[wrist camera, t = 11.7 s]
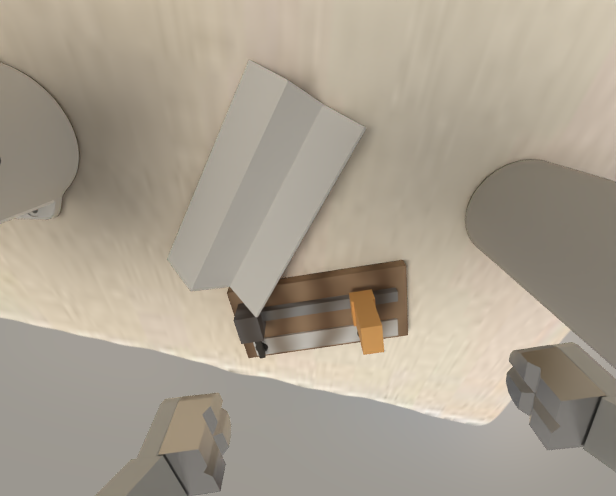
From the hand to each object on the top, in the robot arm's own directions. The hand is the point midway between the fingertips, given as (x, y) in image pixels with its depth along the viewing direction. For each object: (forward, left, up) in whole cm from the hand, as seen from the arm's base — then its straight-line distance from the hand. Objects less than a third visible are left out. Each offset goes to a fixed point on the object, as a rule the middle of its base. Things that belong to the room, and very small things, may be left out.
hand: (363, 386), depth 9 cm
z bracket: (-7, -3, -31) cm, 32 cm away
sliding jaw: (+4, -22, -29) cm, 36 cm away
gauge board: (-2, -21, -31) cm, 38 cm away
